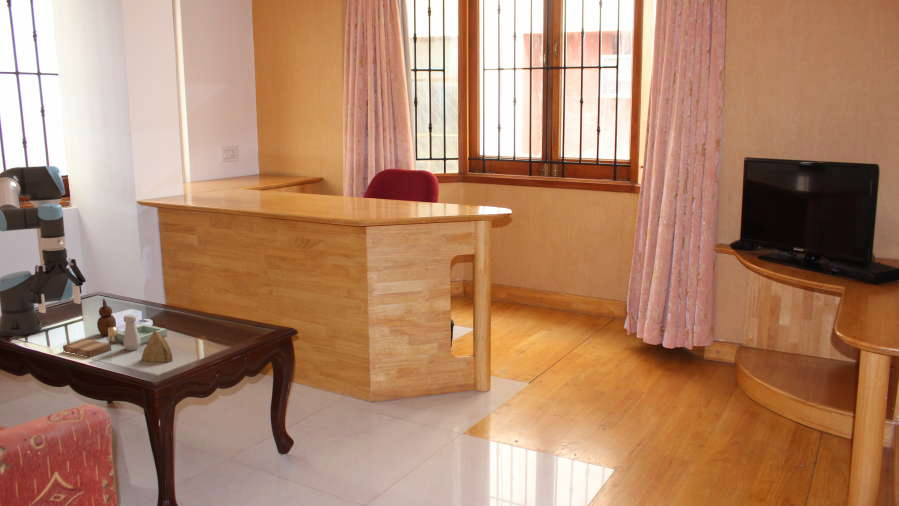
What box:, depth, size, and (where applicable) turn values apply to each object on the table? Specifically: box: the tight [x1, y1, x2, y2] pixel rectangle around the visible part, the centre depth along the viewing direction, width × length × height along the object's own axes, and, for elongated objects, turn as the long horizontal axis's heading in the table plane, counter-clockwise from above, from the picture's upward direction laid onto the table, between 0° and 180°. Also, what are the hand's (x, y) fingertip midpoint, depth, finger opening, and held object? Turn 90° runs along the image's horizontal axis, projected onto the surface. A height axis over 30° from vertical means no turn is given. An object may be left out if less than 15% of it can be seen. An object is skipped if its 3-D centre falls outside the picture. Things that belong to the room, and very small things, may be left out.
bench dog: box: [107, 326, 119, 345], centre depth 288 cm, size 3×3×6 cm
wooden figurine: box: [96, 298, 117, 337], centre depth 297 cm, size 7×6×15 cm
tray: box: [117, 323, 168, 347], centre depth 294 cm, size 13×13×3 cm
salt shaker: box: [123, 313, 141, 351], centre depth 281 cm, size 6×6×13 cm
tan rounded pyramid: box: [140, 331, 173, 363], centre depth 269 cm, size 11×9×10 cm
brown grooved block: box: [62, 338, 112, 358], centre depth 279 cm, size 14×9×3 cm, turn 65°
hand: (60, 307), depth 267 cm, fingers open, 13 cm apart
